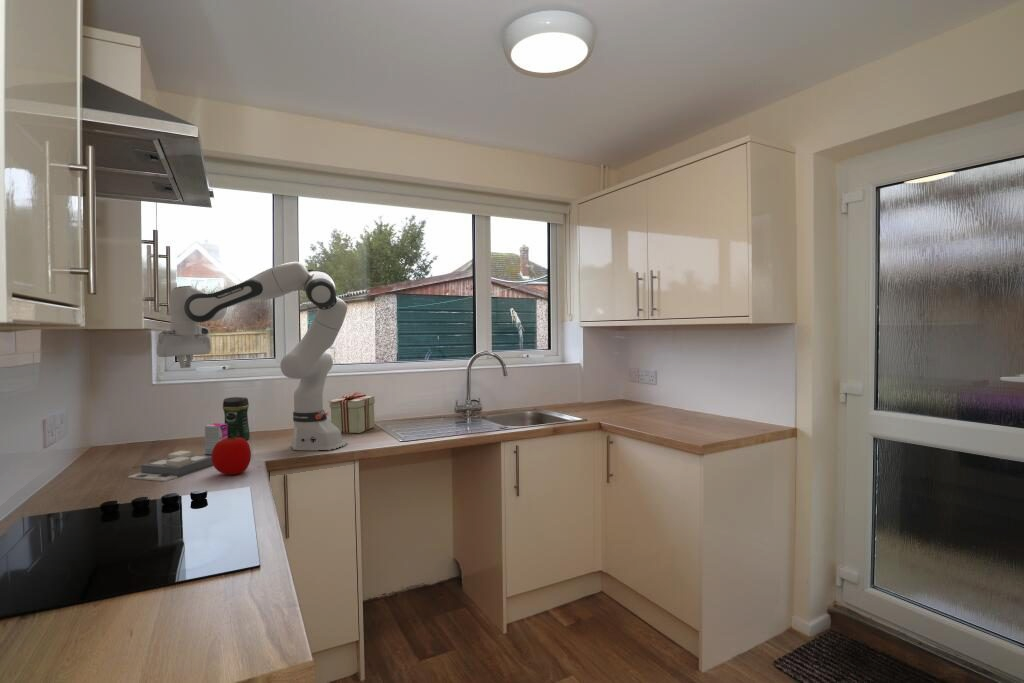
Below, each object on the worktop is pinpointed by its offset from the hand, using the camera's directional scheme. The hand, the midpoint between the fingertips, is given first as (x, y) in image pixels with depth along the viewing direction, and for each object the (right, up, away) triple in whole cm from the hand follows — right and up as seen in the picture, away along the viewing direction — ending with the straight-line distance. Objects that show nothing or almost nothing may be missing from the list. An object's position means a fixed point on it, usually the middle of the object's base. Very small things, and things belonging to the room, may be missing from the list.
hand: (185, 367), depth 192 cm
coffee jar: (+2, -33, +32) cm, 46 cm away
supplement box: (+6, -34, +9) cm, 36 cm away
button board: (+4, -35, -13) cm, 37 cm away
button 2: (+7, -33, -16) cm, 37 cm away
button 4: (+9, -34, -9) cm, 36 cm away
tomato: (+26, -35, -17) cm, 47 cm away
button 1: (+1, -34, -14) cm, 37 cm away
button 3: (+3, -32, -7) cm, 33 cm away
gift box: (+45, -32, +52) cm, 75 cm away
